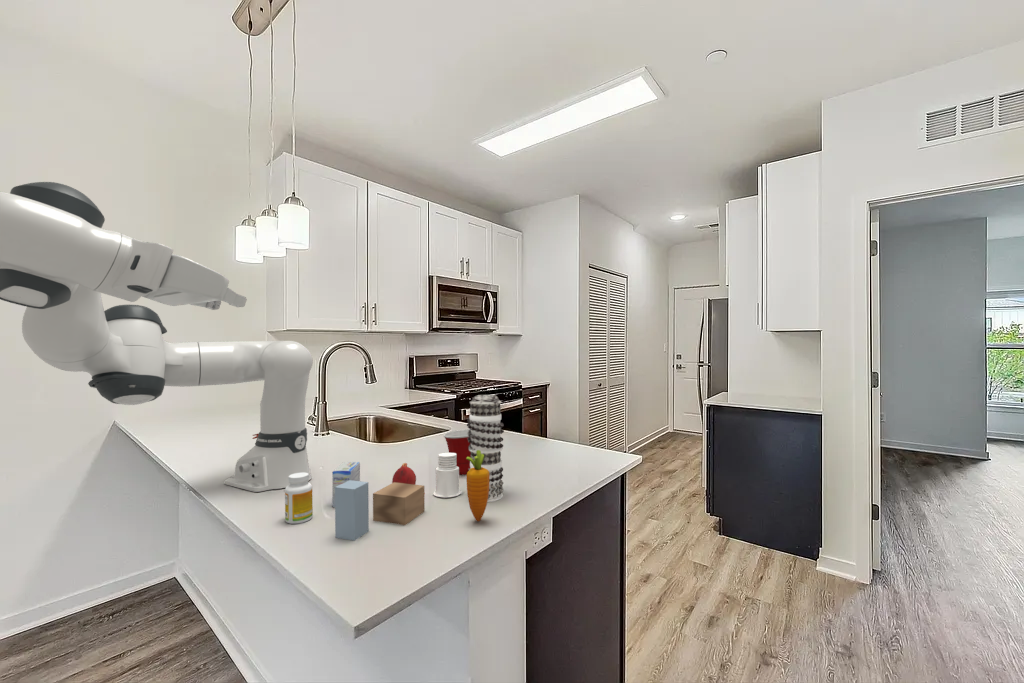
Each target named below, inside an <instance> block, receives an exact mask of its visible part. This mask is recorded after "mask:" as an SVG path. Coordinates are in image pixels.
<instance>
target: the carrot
mask: <svg viewBox="0 0 1024 683" xmlns="http://www.w3.org/2000/svg"><path fill="white" fill-rule="evenodd" d="M476 453H477V456H475V457H474V458H475V460H473V459H472V458H470V457H467V458H466V459H467V460H469V461H470V462H471V463H472V464H473V466H474V468H471V469H470V470H469V471H468V472H467V474H466V477H465V478H466V494H467V499H468V504H469V509H470V511H471V514H472V516H473V517H474V519H475V521H476V522H477V523H479V522H480V521H482V518H483V516H484V514H485V511H486V509H487V505H488V502H487V501H488V495H489V471H488V470H487V469H485V468H483V467H481V465H482V462H483V459H484V455H483V454H481V451H480V450H477V451H476Z"/></svg>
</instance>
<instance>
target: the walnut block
mask: <svg viewBox="0 0 1024 683" xmlns="http://www.w3.org/2000/svg"><path fill="white" fill-rule="evenodd" d="M425 509H426V508H425V485H423V484H422V485H421V484H415V485H414V484H405V483H396V482H394V483H392V482H391V483H390V484H388V485H386V486H385V487H383V488H380V489H379V490H377V491H375V492H373V493H372V521H373V522H378V523H379V522H380V523H386V524H393V525H395V524H396V525H401V526H406V525H408V524H410V523H411V522H412V521H414V520H415V519H416V518H417V517H419V516H420V515H422V514H423V513H425Z"/></svg>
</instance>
